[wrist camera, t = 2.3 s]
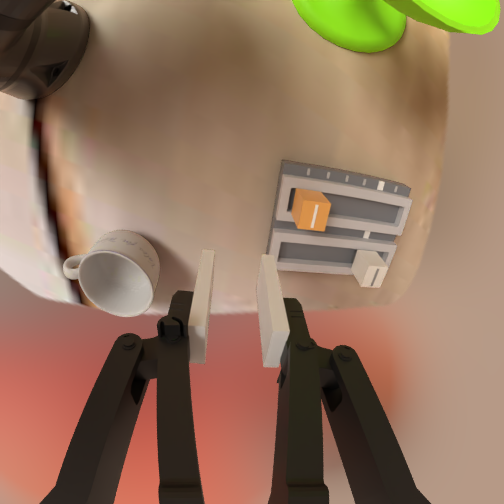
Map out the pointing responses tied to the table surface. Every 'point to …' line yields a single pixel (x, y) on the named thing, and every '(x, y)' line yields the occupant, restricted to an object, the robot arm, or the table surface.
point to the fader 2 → (368, 268)
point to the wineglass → (392, 19)
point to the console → (336, 219)
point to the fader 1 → (310, 210)
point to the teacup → (118, 273)
